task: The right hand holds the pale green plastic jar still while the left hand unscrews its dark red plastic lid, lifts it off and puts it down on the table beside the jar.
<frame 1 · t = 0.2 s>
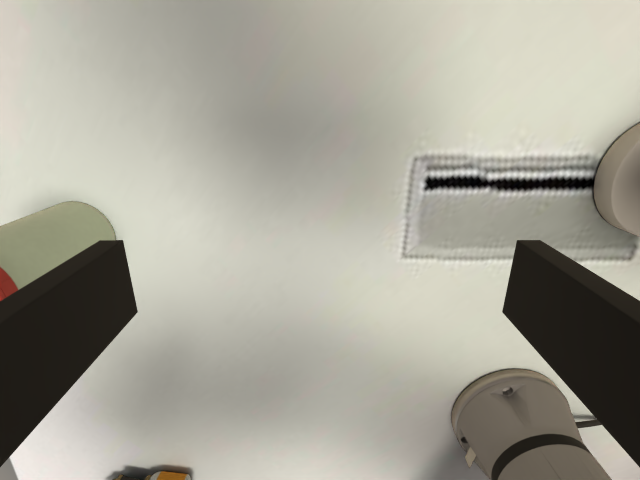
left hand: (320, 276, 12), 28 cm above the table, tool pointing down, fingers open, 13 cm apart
jar: (80, 235, 41), on the table
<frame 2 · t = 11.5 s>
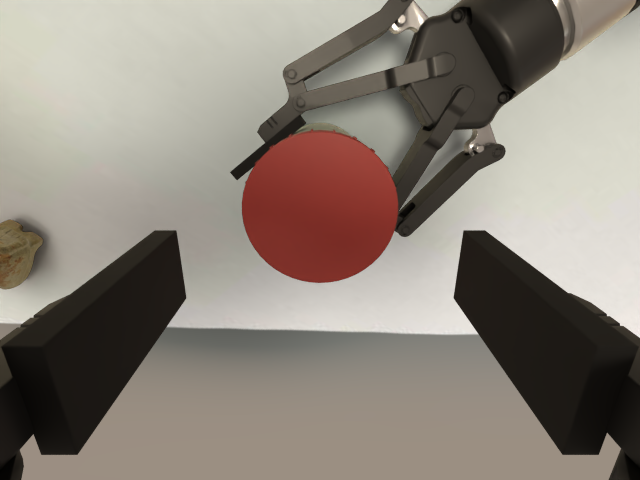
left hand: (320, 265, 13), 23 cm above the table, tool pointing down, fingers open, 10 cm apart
right hand: (274, 215, 29), fingers closed on jar, 8 cm apart
lid: (320, 211, 20), point 15 cm above the table, screwed on, not yet turned
sculpture: (21, 247, 37), on the table
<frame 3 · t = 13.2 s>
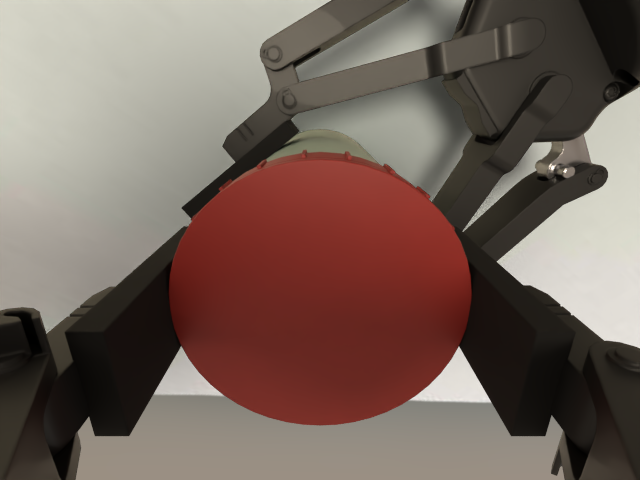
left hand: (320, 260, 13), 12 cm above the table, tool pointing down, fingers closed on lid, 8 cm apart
right hand: (252, 266, 20), fingers closed on jar, 8 cm apart
lid: (320, 305, 10), point 15 cm above the table, screwed on, not yet turned, touching left hand
jar: (320, 189, 25), on the table, touching right hand
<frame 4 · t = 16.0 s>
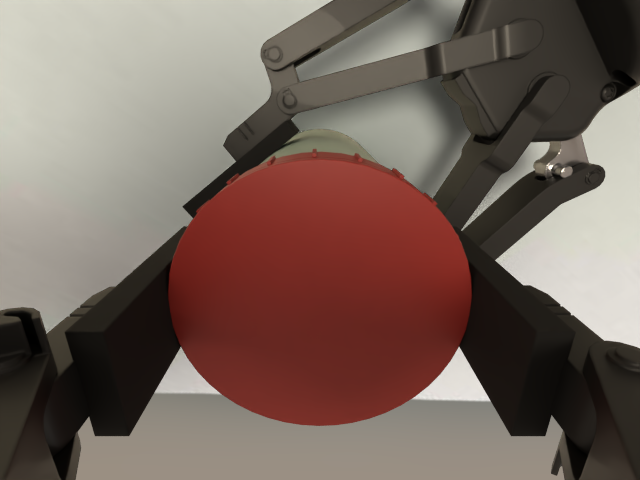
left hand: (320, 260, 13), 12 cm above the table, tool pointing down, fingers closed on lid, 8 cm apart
right hand: (252, 265, 20), fingers closed on jar, 8 cm apart
lid: (319, 305, 10), point 16 cm above the table, turned 75° so far, risen 0.2 cm, still on its thread, touching left hand
jar: (319, 189, 25), on the table, touching right hand
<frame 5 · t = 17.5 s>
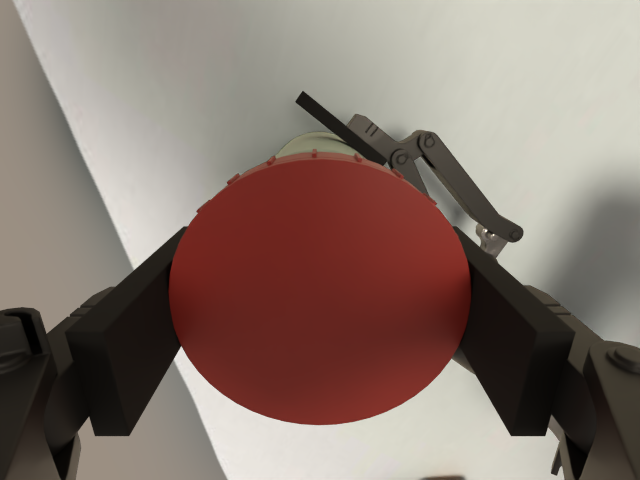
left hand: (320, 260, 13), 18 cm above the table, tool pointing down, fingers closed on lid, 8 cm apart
lid: (319, 305, 10), point 21 cm above the table, off its thread, touching left hand
jar: (318, 181, 30), on the table, touching right hand
when the left hand's fingers open (0 cm above the table, at t = 22.7 s): lid drops 2 cm, point 1 cm above the table.
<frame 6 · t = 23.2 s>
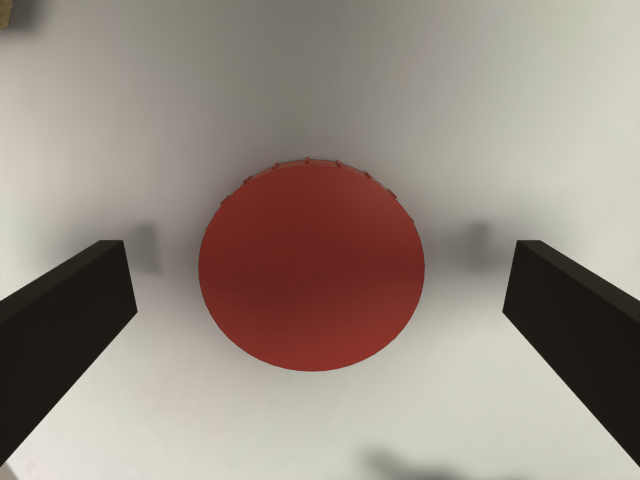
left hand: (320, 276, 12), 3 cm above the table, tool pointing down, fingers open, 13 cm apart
lid: (312, 275, 14), point 1 cm above the table, off its thread
when the right hand's fingers open (6 cm above the table, at t = 23.7 s): jar stays where it is, on the table.
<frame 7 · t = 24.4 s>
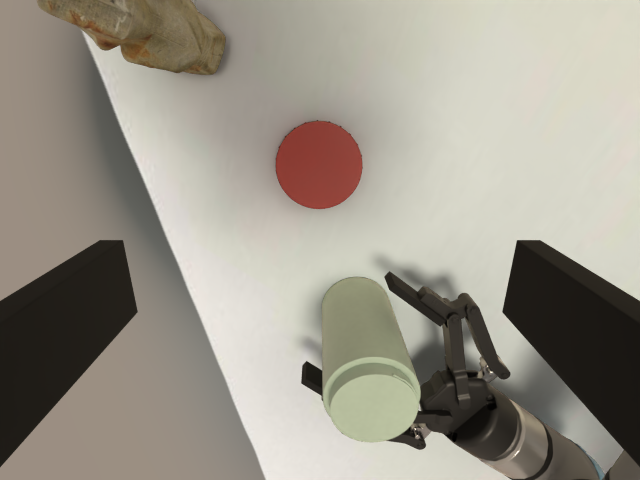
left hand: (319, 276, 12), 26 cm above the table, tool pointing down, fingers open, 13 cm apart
right hand: (344, 328, 36), fingers open, 13 cm apart
lid: (319, 166, 35), point 1 cm above the table, off its thread
jar: (355, 307, 42), on the table
sculpture: (192, 43, 33), on the table
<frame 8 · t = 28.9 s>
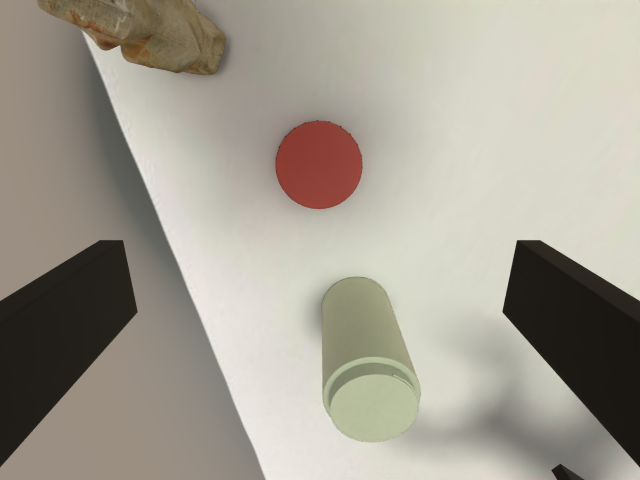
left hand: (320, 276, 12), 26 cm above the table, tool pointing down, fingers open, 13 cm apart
lid: (319, 166, 36), point 1 cm above the table, off its thread
jar: (355, 307, 42), on the table
sculpture: (192, 43, 33), on the table
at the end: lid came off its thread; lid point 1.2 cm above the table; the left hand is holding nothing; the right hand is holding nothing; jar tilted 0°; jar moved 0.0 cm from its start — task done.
